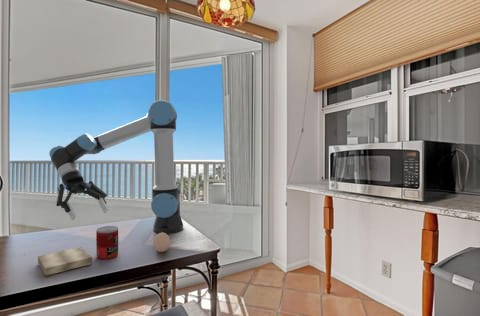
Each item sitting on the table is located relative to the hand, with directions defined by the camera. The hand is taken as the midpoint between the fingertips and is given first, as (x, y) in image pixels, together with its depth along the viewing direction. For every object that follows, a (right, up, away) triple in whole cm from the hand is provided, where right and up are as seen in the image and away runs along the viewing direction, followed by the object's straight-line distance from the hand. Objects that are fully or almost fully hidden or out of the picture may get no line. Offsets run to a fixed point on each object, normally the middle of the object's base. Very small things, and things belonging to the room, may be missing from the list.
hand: (91, 214), depth 113 cm
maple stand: (-2, -16, -13) cm, 21 cm away
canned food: (+9, -16, -5) cm, 19 cm away
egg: (+29, -16, +1) cm, 33 cm away
